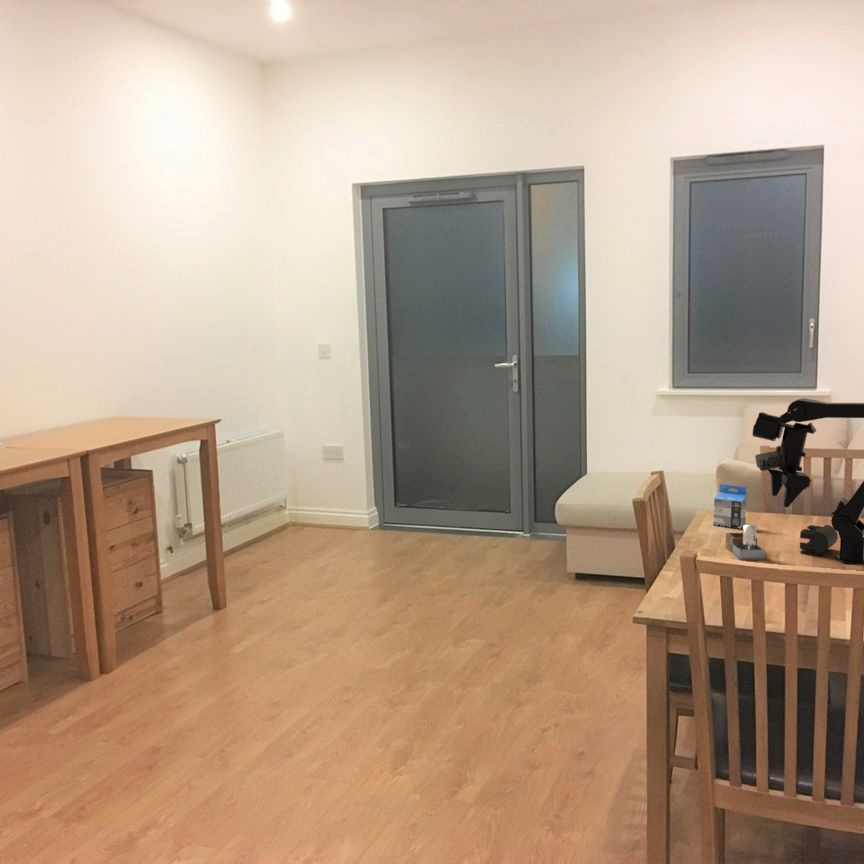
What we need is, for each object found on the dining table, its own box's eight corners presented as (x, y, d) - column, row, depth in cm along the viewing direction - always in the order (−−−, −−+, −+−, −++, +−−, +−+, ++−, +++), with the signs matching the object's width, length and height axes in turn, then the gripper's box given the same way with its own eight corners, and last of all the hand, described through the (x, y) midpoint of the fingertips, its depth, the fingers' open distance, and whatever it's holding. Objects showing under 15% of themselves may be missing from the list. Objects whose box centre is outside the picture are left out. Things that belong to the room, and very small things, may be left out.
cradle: (764, 559, 239) (765, 550, 239) (740, 559, 240) (740, 550, 239) (756, 553, 246) (757, 544, 245) (732, 553, 246) (732, 544, 246)
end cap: (826, 558, 240) (828, 533, 239) (799, 554, 245) (800, 529, 244) (837, 550, 248) (838, 525, 247) (810, 546, 252) (811, 522, 252)
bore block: (756, 553, 246) (757, 538, 245) (732, 553, 246) (732, 538, 246) (748, 546, 252) (749, 532, 252) (725, 547, 252) (725, 532, 252)
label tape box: (712, 525, 278) (713, 485, 276) (718, 522, 281) (719, 483, 279) (740, 529, 272) (741, 488, 271) (746, 527, 275) (747, 486, 274)
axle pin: (756, 556, 241) (757, 526, 240) (744, 556, 241) (745, 526, 240) (752, 553, 244) (754, 523, 243) (740, 553, 244) (741, 524, 243)
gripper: (751, 432, 251) (739, 486, 255) (774, 451, 233) (761, 509, 237) (791, 437, 251) (779, 491, 255) (817, 456, 233) (803, 514, 237)
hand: (779, 501), depth 246 cm, fingers open, 9 cm apart
